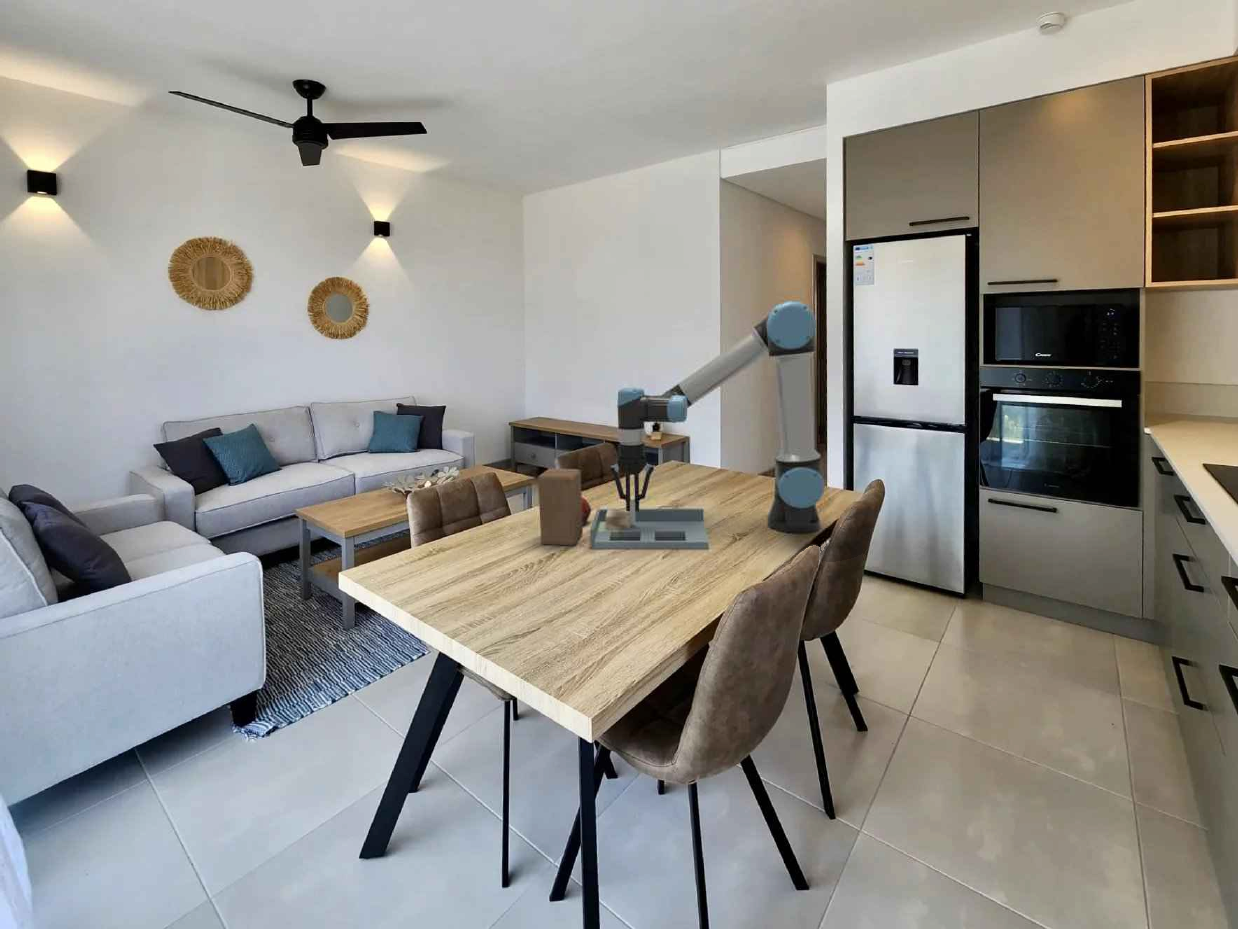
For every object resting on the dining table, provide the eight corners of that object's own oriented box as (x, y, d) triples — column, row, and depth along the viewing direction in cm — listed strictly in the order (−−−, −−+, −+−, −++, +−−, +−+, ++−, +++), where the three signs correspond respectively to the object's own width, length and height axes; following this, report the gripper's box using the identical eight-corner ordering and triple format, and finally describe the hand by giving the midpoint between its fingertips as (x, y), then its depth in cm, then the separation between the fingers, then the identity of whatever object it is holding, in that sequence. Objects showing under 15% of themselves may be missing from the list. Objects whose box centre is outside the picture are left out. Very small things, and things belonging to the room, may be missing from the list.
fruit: (586, 517, 193) (585, 487, 191) (594, 525, 185) (593, 494, 183) (558, 520, 191) (557, 489, 189) (565, 529, 182) (564, 497, 180)
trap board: (702, 526, 182) (703, 508, 181) (708, 549, 162) (708, 529, 161) (597, 526, 184) (597, 508, 183) (590, 548, 164) (590, 529, 163)
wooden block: (574, 546, 166) (571, 476, 162) (540, 545, 168) (536, 475, 164) (583, 535, 176) (581, 468, 172) (550, 533, 178) (547, 467, 174)
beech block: (631, 522, 180) (630, 509, 179) (630, 529, 173) (629, 516, 173) (607, 522, 181) (607, 509, 180) (605, 530, 174) (605, 516, 173)
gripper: (654, 440, 175) (655, 517, 180) (609, 440, 175) (611, 518, 180) (654, 444, 167) (655, 525, 172) (607, 445, 168) (609, 525, 173)
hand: (632, 521), depth 176 cm, fingers closed
